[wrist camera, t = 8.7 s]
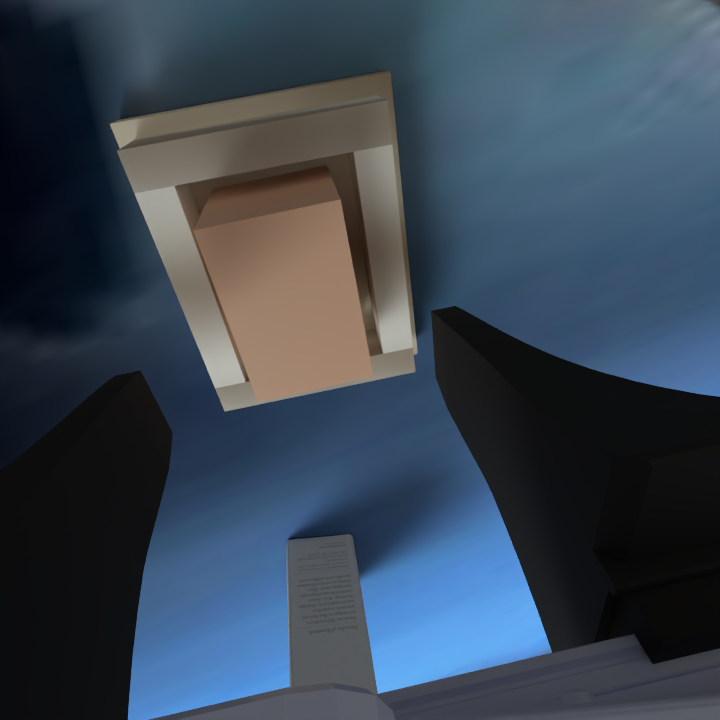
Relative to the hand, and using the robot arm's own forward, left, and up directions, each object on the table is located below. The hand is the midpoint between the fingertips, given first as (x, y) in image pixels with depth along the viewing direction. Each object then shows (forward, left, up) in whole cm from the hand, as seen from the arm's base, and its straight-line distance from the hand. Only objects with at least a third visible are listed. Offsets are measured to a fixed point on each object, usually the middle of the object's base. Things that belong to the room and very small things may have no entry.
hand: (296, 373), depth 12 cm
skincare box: (-21, +3, -9) cm, 23 cm away
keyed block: (0, 0, -8) cm, 8 cm away
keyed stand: (0, 0, -9) cm, 9 cm away
